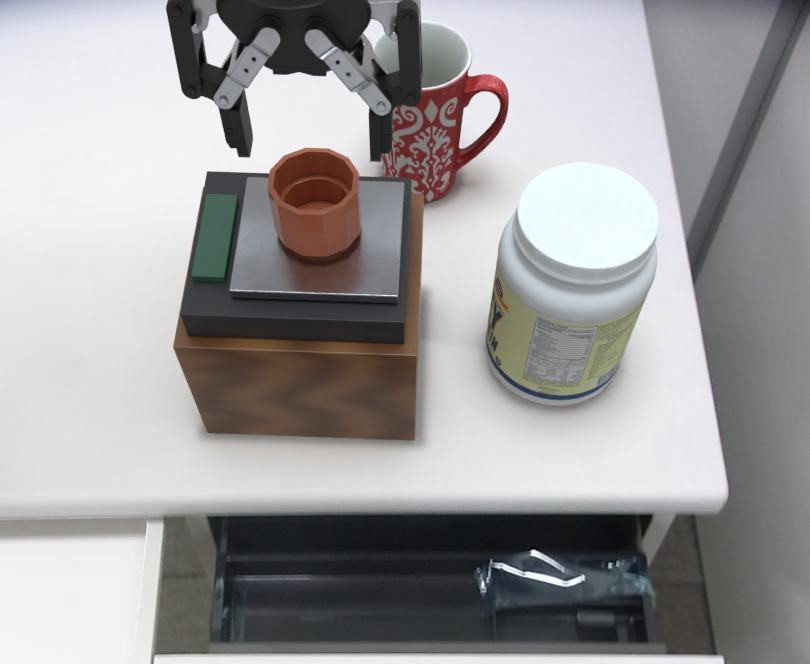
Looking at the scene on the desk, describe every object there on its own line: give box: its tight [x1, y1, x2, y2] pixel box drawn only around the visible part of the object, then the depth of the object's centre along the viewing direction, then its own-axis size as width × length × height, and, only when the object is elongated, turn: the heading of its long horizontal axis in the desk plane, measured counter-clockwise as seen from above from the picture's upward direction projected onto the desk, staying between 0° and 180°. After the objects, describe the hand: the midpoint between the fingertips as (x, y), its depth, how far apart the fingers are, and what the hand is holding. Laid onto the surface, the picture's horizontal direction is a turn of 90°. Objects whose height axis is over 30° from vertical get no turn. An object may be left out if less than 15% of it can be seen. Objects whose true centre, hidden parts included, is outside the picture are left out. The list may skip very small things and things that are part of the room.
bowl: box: [267, 147, 362, 257], centre depth 60 cm, size 6×6×4 cm
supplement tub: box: [484, 161, 660, 406], centre depth 68 cm, size 12×12×17 cm
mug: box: [371, 19, 510, 203], centre depth 78 cm, size 13×9×14 cm
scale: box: [180, 170, 412, 344], centre depth 63 cm, size 16×14×3 cm
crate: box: [172, 186, 425, 441], centre depth 70 cm, size 18×16×12 cm
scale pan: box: [229, 177, 404, 303], centre depth 62 cm, size 12×11×1 cm
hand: (311, 151), depth 55 cm, fingers open, 8 cm apart
